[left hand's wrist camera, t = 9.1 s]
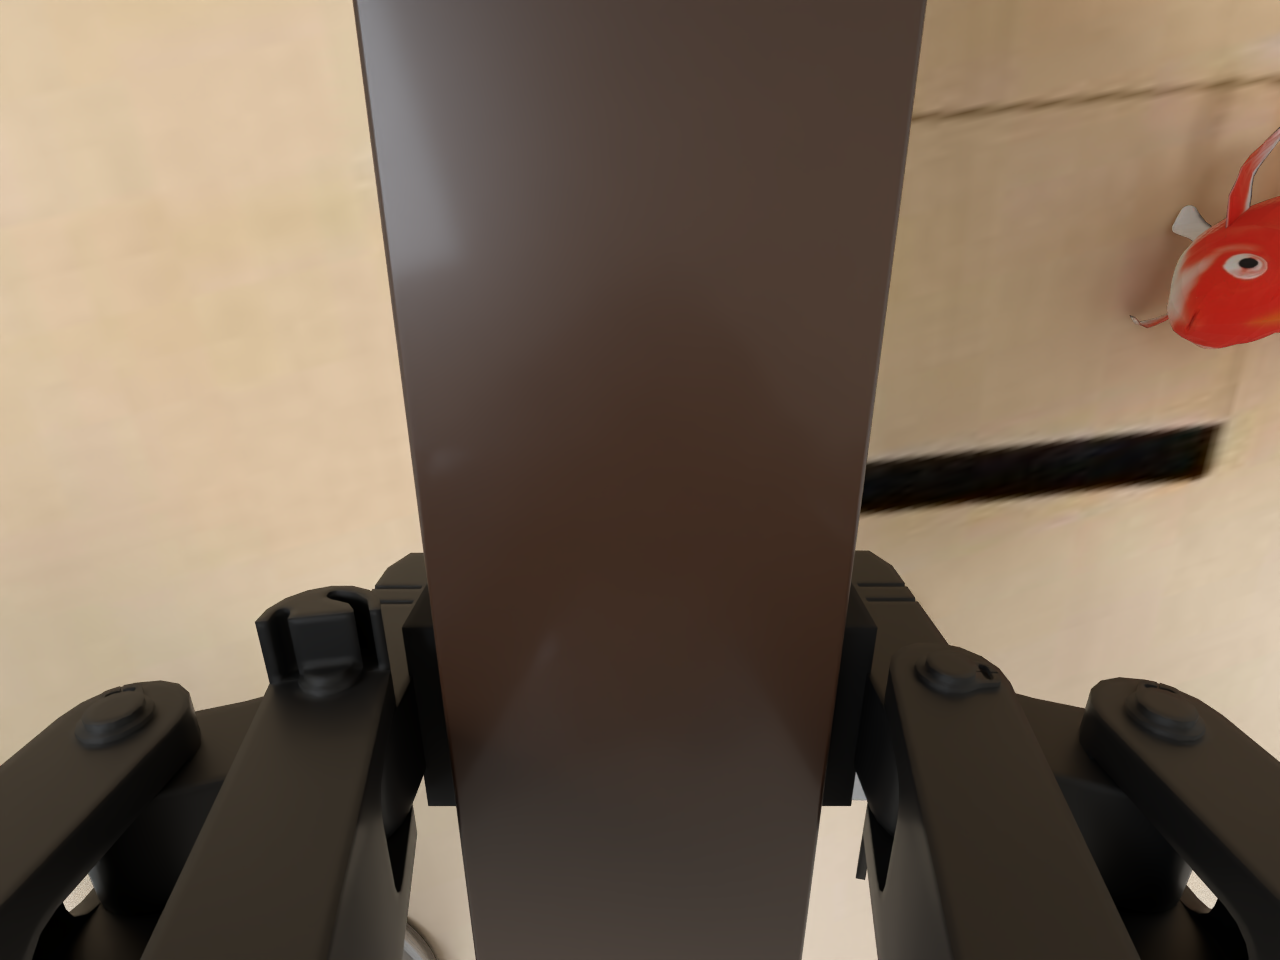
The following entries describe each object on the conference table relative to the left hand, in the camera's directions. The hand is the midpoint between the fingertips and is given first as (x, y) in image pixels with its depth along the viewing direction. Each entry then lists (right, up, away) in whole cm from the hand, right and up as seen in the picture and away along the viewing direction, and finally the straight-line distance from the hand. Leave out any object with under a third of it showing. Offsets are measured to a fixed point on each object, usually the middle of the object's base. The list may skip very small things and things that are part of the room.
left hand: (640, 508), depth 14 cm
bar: (0, +9, -3) cm, 9 cm away
